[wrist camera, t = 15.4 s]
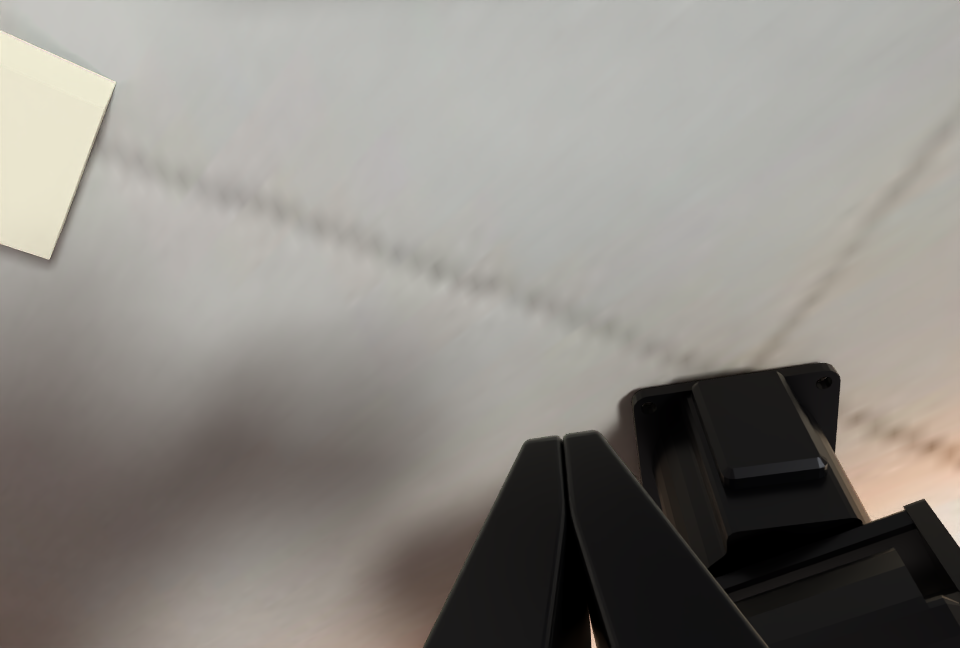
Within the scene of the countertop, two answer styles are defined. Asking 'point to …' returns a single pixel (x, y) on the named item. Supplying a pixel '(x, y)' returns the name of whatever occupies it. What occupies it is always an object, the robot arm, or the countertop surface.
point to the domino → (43, 140)
